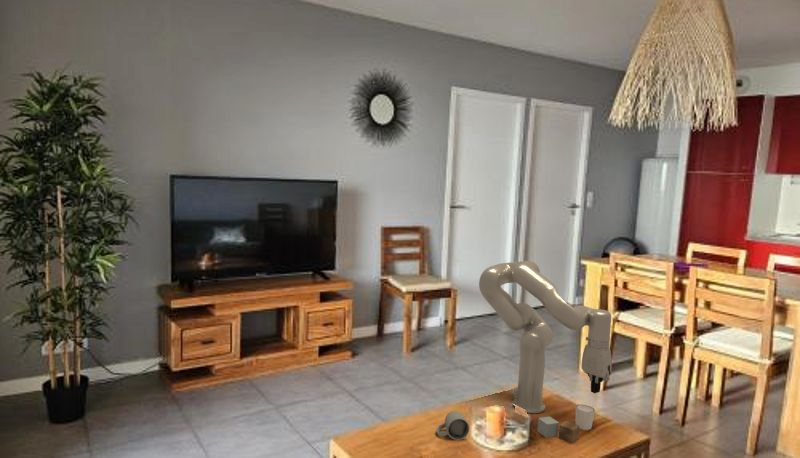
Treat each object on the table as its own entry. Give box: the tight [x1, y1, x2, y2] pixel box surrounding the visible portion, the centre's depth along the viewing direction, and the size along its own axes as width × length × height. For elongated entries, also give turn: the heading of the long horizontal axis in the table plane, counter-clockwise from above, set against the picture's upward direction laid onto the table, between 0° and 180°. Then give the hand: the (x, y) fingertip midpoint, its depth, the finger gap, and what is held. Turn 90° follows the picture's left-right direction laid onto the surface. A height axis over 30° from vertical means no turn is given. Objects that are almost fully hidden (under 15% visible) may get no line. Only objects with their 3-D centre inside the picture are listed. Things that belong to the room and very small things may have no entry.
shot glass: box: [574, 404, 596, 431], centre depth 199 cm, size 7×7×7 cm
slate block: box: [536, 415, 560, 439], centre depth 192 cm, size 5×5×5 cm
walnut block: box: [558, 420, 580, 445], centre depth 189 cm, size 5×5×5 cm
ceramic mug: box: [435, 410, 470, 441], centre depth 187 cm, size 11×8×8 cm
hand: (595, 391), depth 199 cm, fingers closed
